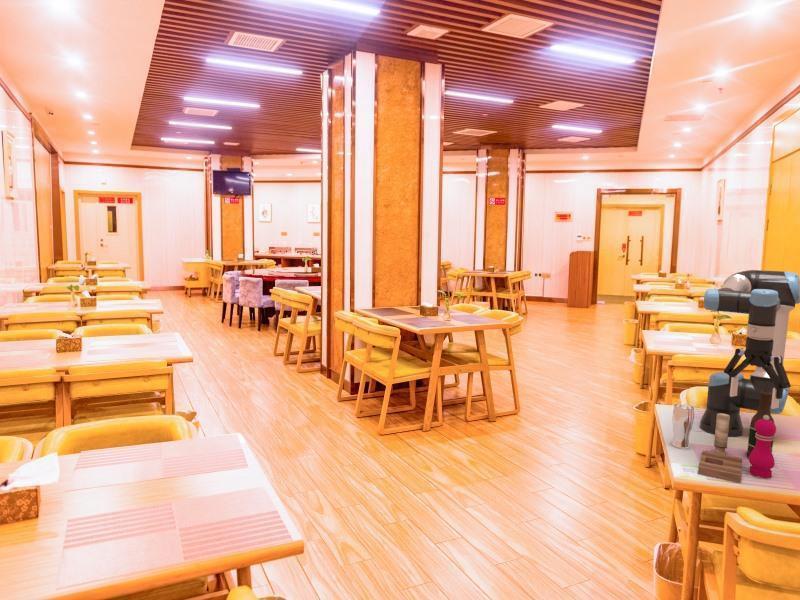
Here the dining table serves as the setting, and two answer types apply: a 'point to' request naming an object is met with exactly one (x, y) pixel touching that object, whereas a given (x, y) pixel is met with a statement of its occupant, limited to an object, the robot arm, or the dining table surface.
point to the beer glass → (682, 425)
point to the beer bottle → (762, 410)
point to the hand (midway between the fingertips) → (753, 401)
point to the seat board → (720, 466)
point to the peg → (721, 433)
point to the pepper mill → (763, 449)
